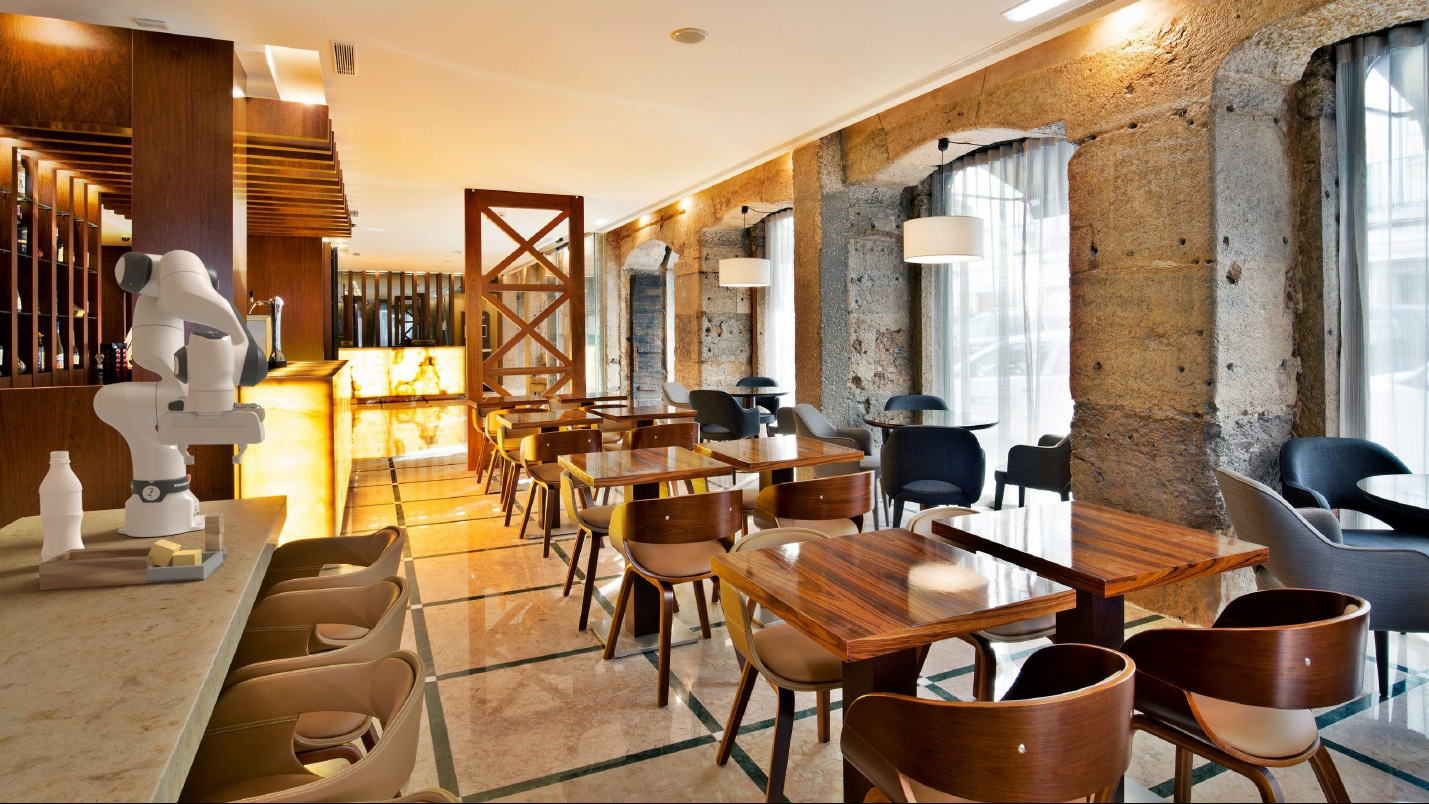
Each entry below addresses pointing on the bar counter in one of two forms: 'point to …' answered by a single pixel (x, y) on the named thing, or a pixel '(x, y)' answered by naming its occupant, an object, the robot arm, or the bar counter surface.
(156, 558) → the pale yellow block
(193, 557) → the pale yellow cube
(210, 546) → the wooden post on base
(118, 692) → the bar counter surface
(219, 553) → the tray
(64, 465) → the water bottle
